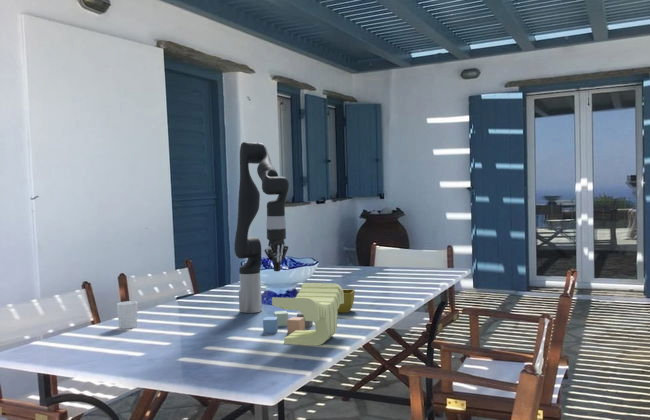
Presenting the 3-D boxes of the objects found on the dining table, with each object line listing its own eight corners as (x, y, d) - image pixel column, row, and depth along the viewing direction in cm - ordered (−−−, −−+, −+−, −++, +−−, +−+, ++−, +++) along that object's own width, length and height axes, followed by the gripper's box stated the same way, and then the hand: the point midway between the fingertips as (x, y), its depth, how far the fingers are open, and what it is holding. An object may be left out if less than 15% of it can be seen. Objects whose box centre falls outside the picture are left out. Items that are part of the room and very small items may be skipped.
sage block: (275, 326, 234) (275, 314, 234) (274, 323, 239) (274, 311, 239) (288, 325, 235) (287, 313, 235) (287, 323, 240) (286, 310, 240)
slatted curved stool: (319, 352, 194) (316, 298, 194) (274, 350, 199) (271, 297, 199) (345, 330, 223) (343, 283, 222) (305, 329, 228) (303, 282, 227)
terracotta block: (287, 333, 223) (287, 319, 223) (292, 329, 228) (292, 316, 228) (299, 333, 221) (299, 320, 221) (304, 330, 226) (304, 317, 226)
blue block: (263, 333, 224) (262, 320, 224) (265, 330, 229) (264, 317, 229) (276, 332, 224) (276, 319, 224) (278, 329, 229) (277, 316, 229)
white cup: (119, 330, 238) (118, 305, 237) (116, 326, 245) (115, 302, 244) (139, 327, 241) (138, 303, 241) (136, 324, 248) (135, 300, 248)
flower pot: (352, 314, 252) (351, 292, 252) (332, 313, 254) (331, 292, 254) (355, 309, 261) (354, 289, 260) (335, 309, 262) (335, 289, 262)
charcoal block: (297, 327, 232) (296, 314, 232) (300, 324, 237) (300, 311, 237) (309, 327, 231) (309, 314, 231) (312, 324, 236) (312, 311, 236)
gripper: (278, 225, 242) (279, 268, 243) (258, 228, 231) (259, 272, 232) (293, 226, 238) (294, 269, 239) (273, 229, 227) (274, 274, 228)
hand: (277, 271), depth 235 cm, fingers closed
